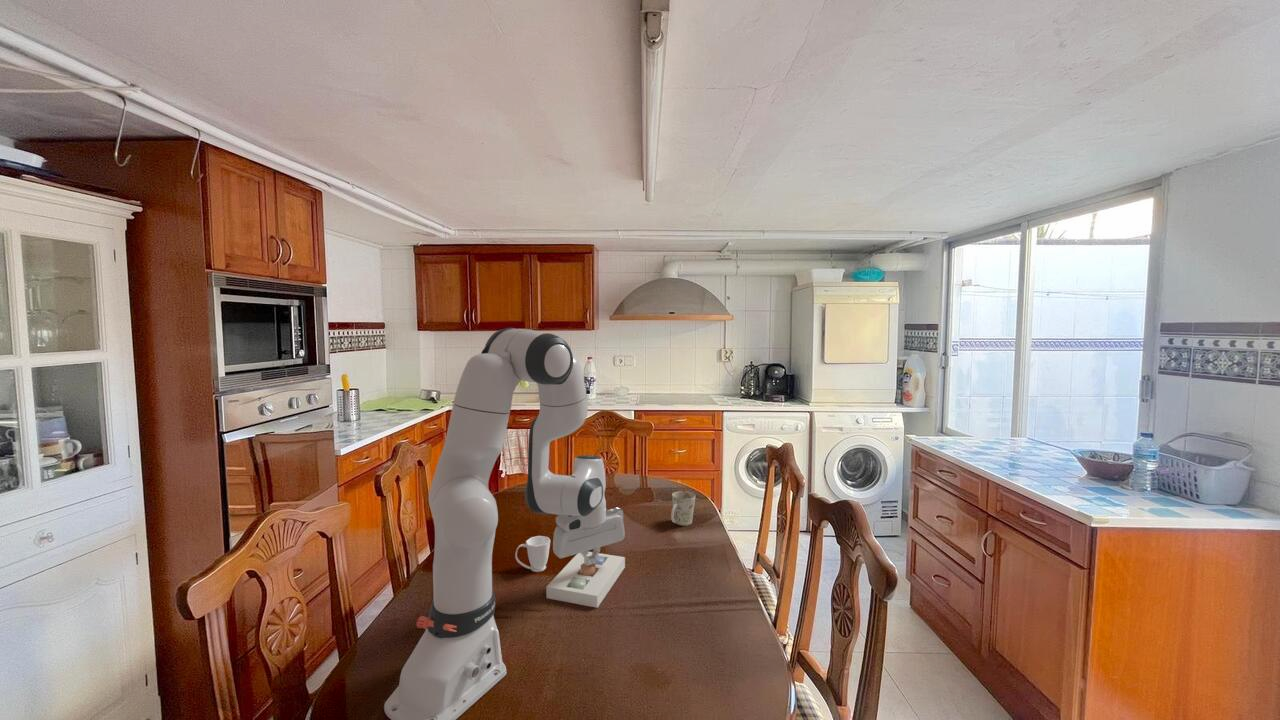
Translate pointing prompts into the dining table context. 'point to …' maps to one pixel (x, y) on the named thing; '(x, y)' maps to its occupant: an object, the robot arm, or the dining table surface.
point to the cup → (536, 553)
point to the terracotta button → (588, 570)
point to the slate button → (600, 560)
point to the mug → (682, 507)
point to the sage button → (578, 583)
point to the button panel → (594, 585)
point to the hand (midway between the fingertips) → (590, 563)
